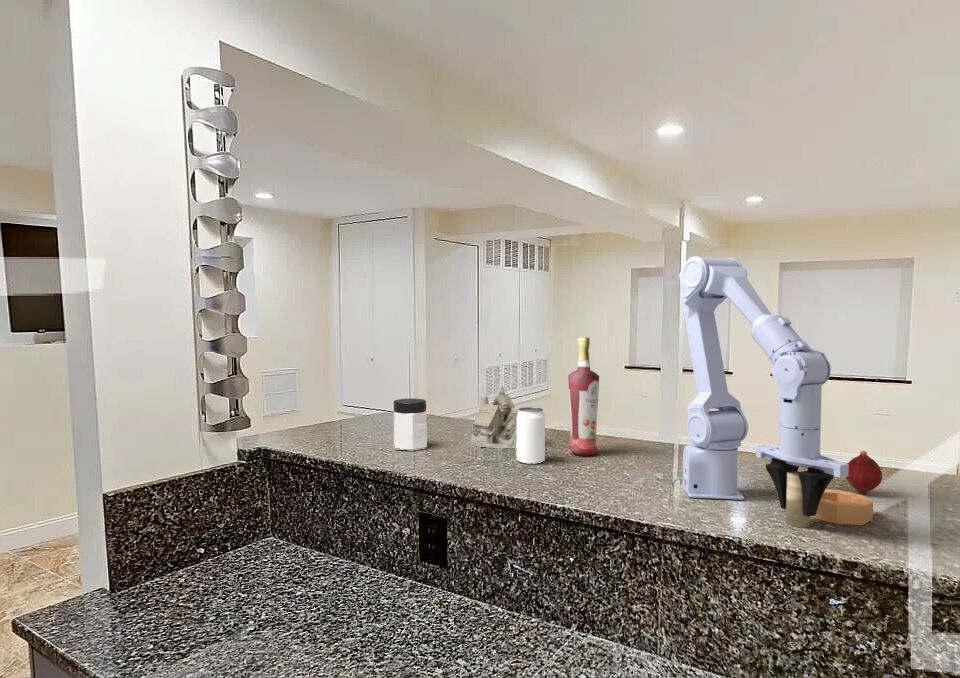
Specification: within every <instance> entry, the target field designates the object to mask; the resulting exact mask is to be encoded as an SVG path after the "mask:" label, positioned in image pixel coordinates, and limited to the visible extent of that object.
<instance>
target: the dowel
mask: <svg viewBox="0 0 960 678" xmlns="http://www.w3.org/2000/svg"><path fill="white" fill-rule="evenodd" d="M798 472H799V471H798ZM798 472H787V492H786V509H785V523H786V524H787V525H788V526H790V525H791V527H793V526H794V528H799V527H800V528H799V529H805V528H806V529H807V527H808V528H810V527H811V516H810V517H807V516H804V514H803V493H802V487H801V482H800V479H799V476H798Z"/></svg>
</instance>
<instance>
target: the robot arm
mask: <svg viewBox="0 0 960 678" xmlns="http://www.w3.org/2000/svg"><path fill="white" fill-rule="evenodd" d="M678 274H679V275H678V276H679V284H680V289H681V295H682V310H683V316H684V322H685V323H684V324H685V327H686V334H687V341H688V346H689V352H690V359H691V364H692V370H693V371H692V372H693V377H694V384H695V390H696V395H697V396H695V398H694V399H693V400H692V401H691V402H690V403H689V404H688V405H687V406H686V409H687V410H686V411H687V421H686V431H687V435H688V437H689V439H690V440H691V442H692V445H691V444H689V445H685V446H684V447H683V452H682V483H681V486H682V487H683V489H684V491H685V493H686V494H687V495H688V497H689V498H696V499H697V498H698V499H699V498H700V499H719V500H720V499H721V500H745V497H744V495H743V494H742V493H741V492H740V491H739V490H738V464H739V463H738V460H739V457H738V456H739V455H738V453H739V450H738V448H739V447H741V446H742V443H741V442H742V441H744V440H745V439H746V437H747V435H748V432H749V424H748V420H747V418H746V416H745V414H744V412H743V410H742V408H741V407H742V406H741V402H740V401H739V400H738V399H737V398H736V397H734V396H733V395H732V394H731V393H730V392H729V389H728V384H727V379H726V373H725V367H724V361H723V356H722V349H721V344H720V339H719V332H718V327H717V322H716V316H715V315H716V314H715V311H716V309H717V307H718V306H720V305H721V304H722V303H723V302H725V301H726V299H728V300H729V301H730V302H731V303H732V305H733V306H734V307H735V308H736V309H737V310H738V311H739V312H740V313H741V315H743V317H744V318H745V319H746V320H747V321H748V322H749V323H750V325H751V326H752V328H751V337H752V339H753V340H754V342H755V343H756V344H757V345H758V347H759V348H760V349H761V351H762V352H763V354H764V355H765V356H766V357H767V358H768V360H769V361H770V362H771V364H772V365H773V367H772V368H771V376H772V378H773V380H774V381H775V383H776V385H777V394H778V397H779V398H780V399H779V437H778V438H779V441H778V443H779V444H778V446H771V445H766V444H759V445H755V457H756V458H758V459H767V460H770V463H767V464H765V470H766V471H767V473H768V474H769V476H770V478H771V480H772V482H773V484H774V487H775V490H776V493H777V497H778V501H779V505H780V509H783V510H786V492H787V472H798V476H799V479H800V482H801V487H802V493H803V514H804V516H807V517H810V518H811V516H814V515H816V513H817V509H818V506H819V503H820V500H821V497H822V495H823V493H824V491H825V489H827V487H828V486H829V484H830V483H831V482H832V481H833V479H834V477H835V478H839V479H841V478H846V477H848V472H849V464H848V462H842V461H839V460H836V459H833V458H830V457H828V456H825V455H821V428H822V427H821V426H822V386H823V385H824V384H826V383H827V382H828V380H829V379H830V377H831V370H832V368H831V367H832V366H831V363H830V361H829V359H828V358H827V356H826V354H825V353H824V352H823V351H821V350H818V349H813V348H811V347H810V346H809V344H808V343H807V342H806V341H804V340H803V339H802V338H801V337H800V336H799V334H798V333H797V332H796V330H795V329H794V328H793V327H792V326H791V324H792V322H791V320H790V318H788V317H783V316H782V315H779V314H772V313H771V312H770V310H769V309H768V308H767V306H766V305H765V303H764V302H763V300H762V299H761V297H760V296H759V294H758V293H757V291H756V290H755V288H754V287H753V285H752V284H751V282H750V281H749V280H748V270H747V269H746V268H745V267H743V266H742V263H741V261H739V260H738V259H736V258H734V257H728V258H723V257H722V258H719V257H718V258H717V257H716V258H715V257H701V256H697V255H695V256H692V257H690V258H688V259H687V260H686V262H685V263H684V265H683V267H682V269H681V271H680V273H678ZM711 409H714V410H711ZM715 409H717V410H715ZM799 468H804V469H807V470H804V471H803V470H801V471H799Z"/></svg>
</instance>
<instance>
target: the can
mask: <svg viewBox="0 0 960 678" xmlns="http://www.w3.org/2000/svg"><path fill="white" fill-rule="evenodd" d="M545 455H546V416H545V413H544V409H543V408H541V407H534V406H529V407H528V406H527V407H519V412H518V414H517V449H516V461H517V462H518V461H519V462H522V463H541V462H543V461H544V462H545V461H546V456H545ZM519 462H518V463H519ZM544 462H543V463H544ZM522 463H521V464H522ZM541 464H542V463H541Z"/></svg>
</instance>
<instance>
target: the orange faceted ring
mask: <svg viewBox="0 0 960 678" xmlns="http://www.w3.org/2000/svg"><path fill="white" fill-rule="evenodd" d="M810 518H812V519H815V520H820V521H824V522H828V523H831V524H835V525H847V524H848V526H865V525H866V524H865V523H867V522H869V521H871V520H873V519H874V501H873V500H870V498H867V497H866V496H865V495H864V494H859V493H855V492H854V493H853V492H850V491H845V490H842V489H832V488H831V489H830V488H828V489H827V488H826V489H825V491H824V493H823V495H822V497H821V500H820V503H819V506H818V509H817V513H816V515H814V516H810ZM871 522H872V521H871ZM869 523H870V522H869ZM849 524H850V525H849ZM864 524H865V525H864ZM867 524H868V523H867Z"/></svg>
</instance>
